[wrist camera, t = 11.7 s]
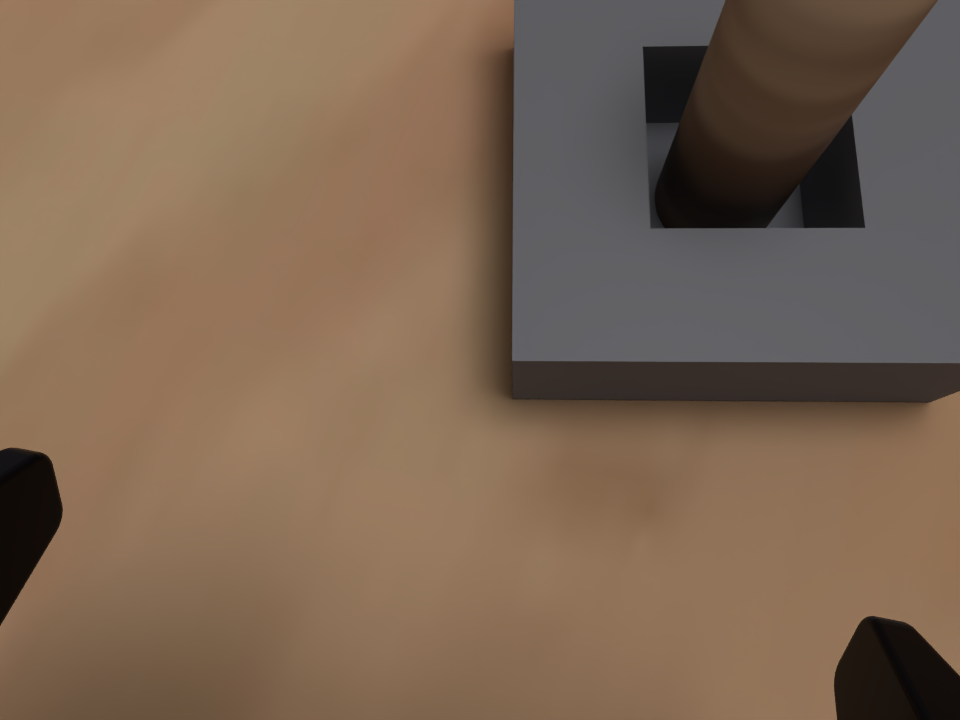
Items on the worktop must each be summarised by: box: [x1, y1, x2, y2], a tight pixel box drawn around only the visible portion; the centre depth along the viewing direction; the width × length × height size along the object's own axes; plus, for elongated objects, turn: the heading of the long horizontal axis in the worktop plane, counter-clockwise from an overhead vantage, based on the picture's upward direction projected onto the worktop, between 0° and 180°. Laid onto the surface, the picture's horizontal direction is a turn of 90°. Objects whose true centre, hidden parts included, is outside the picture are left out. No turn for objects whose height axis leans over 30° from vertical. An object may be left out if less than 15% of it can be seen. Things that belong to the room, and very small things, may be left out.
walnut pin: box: [655, 0, 938, 229], centre depth 18 cm, size 4×4×11 cm
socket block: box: [512, 0, 960, 402], centre depth 22 cm, size 12×12×4 cm
